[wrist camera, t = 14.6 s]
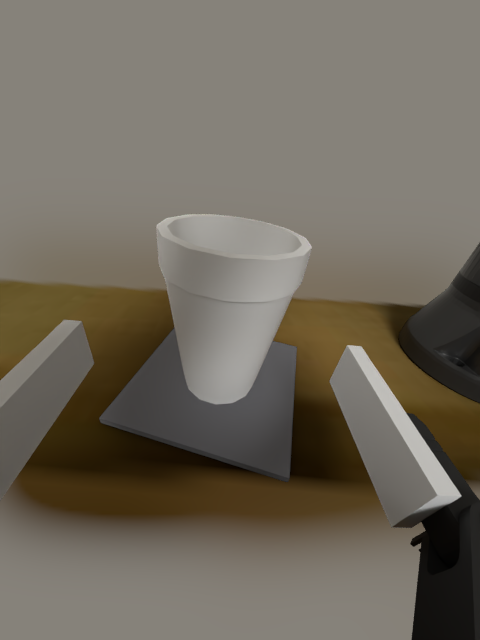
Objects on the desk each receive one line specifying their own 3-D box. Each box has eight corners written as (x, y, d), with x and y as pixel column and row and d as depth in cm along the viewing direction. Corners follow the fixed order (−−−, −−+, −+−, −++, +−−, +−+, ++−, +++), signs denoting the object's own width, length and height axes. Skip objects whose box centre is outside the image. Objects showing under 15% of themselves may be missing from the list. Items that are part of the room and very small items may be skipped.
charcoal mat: (295, 350, 27) (296, 346, 27) (287, 482, 16) (289, 478, 16) (182, 322, 29) (182, 318, 29) (100, 422, 18) (99, 418, 17)
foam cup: (182, 337, 26) (180, 208, 19) (265, 347, 26) (296, 225, 19) (152, 415, 18) (129, 243, 11) (272, 428, 18) (329, 271, 11)
